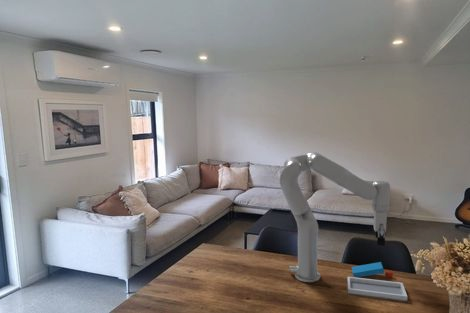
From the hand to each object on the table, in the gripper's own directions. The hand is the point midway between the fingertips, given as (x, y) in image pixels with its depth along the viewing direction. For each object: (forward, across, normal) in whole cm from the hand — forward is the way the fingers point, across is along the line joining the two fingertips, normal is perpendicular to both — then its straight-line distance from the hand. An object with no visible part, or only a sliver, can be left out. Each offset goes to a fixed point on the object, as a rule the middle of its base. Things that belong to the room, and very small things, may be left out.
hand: (379, 241), depth 160 cm
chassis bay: (+19, +14, -3) cm, 23 cm away
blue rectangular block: (+19, -2, -3) cm, 20 cm away
